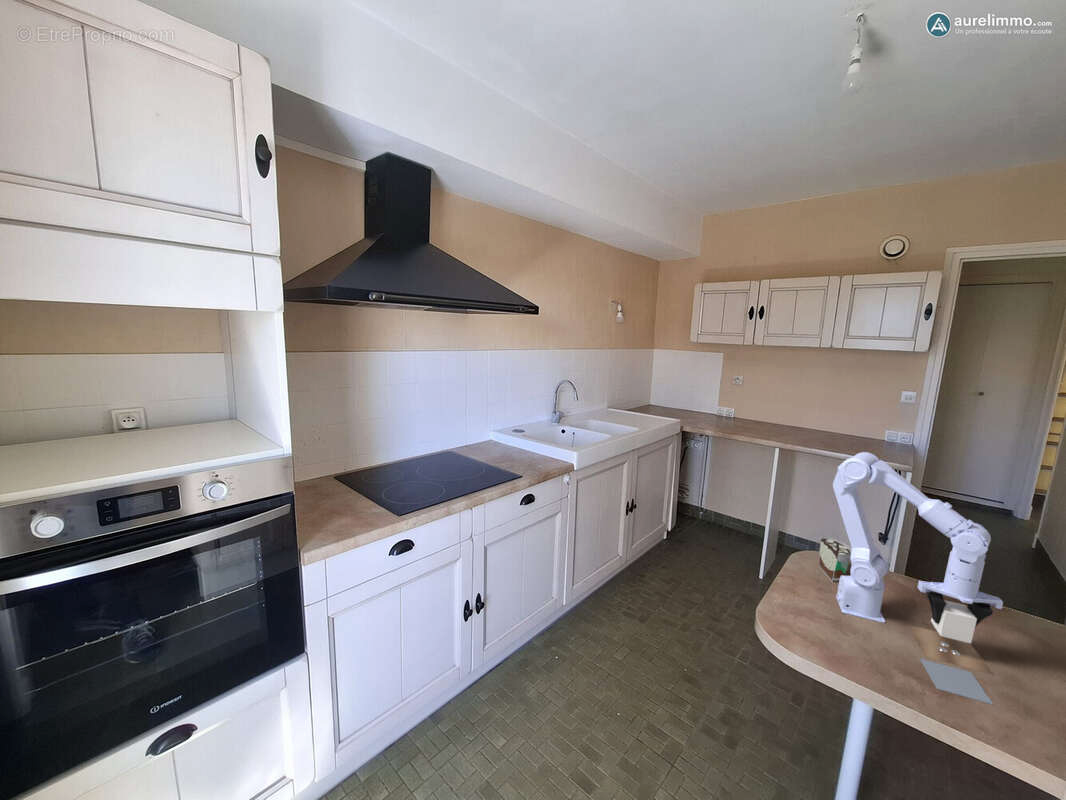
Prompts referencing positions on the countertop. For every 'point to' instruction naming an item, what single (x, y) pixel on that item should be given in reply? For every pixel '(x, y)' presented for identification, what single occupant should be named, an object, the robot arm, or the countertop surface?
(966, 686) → the mat
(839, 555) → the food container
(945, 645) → the board
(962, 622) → the matte white cube
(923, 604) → the countertop surface
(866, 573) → the robot arm
